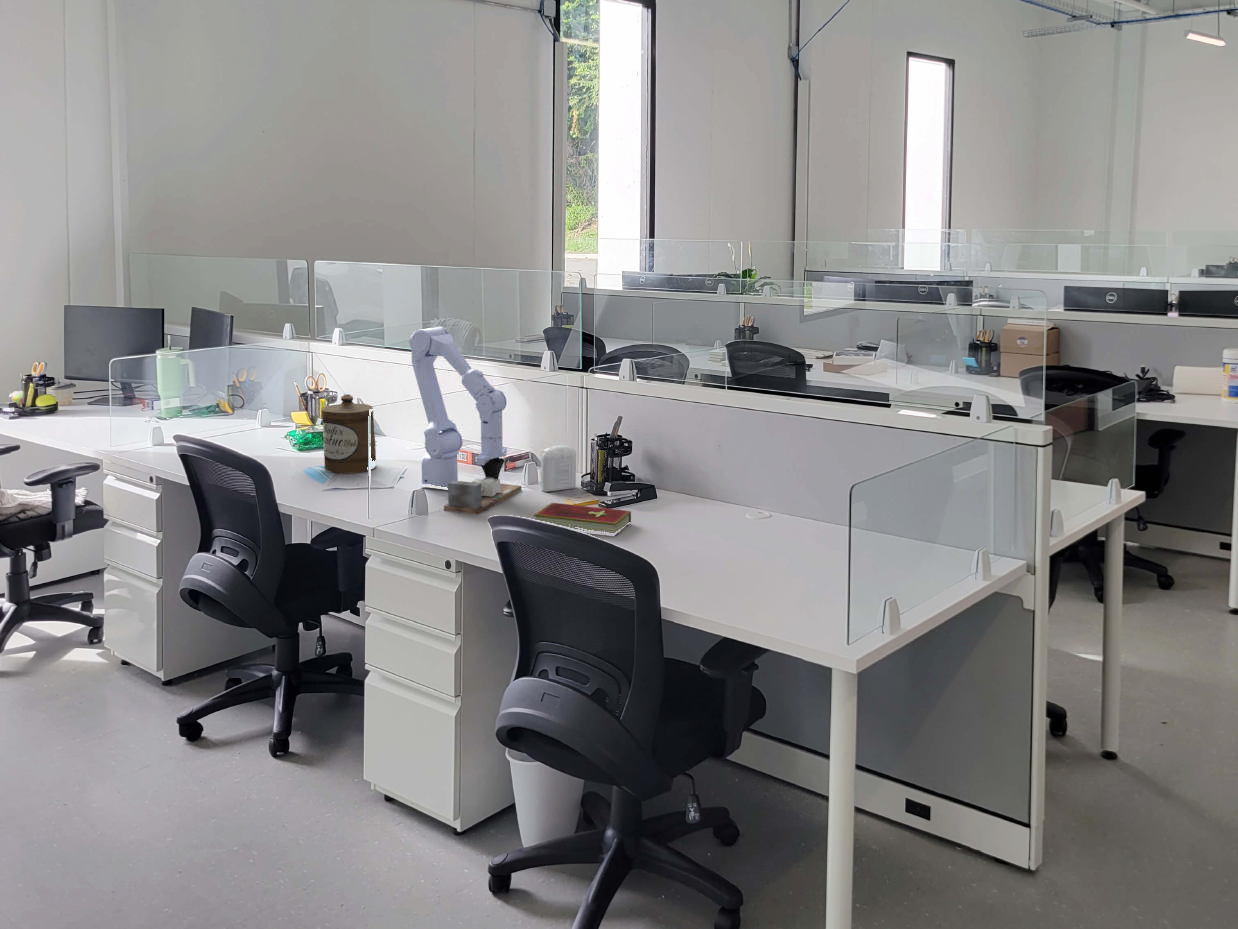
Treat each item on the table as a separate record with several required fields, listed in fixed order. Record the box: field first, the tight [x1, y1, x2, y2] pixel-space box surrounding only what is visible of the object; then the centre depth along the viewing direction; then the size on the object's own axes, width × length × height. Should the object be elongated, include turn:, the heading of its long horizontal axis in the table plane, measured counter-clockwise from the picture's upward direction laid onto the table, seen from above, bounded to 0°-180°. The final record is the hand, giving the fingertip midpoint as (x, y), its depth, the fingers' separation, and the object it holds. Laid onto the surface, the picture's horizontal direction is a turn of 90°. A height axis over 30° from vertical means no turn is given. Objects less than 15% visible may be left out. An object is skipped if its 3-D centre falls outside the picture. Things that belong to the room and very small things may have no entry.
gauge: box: [471, 476, 503, 497], centre depth 286 cm, size 8×8×4 cm
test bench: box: [443, 480, 522, 515], centre depth 287 cm, size 10×26×7 cm, turn 161°
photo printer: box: [540, 444, 577, 493], centre depth 298 cm, size 10×4×12 cm, turn 123°
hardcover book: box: [533, 502, 632, 533], centre depth 265 cm, size 12×21×4 cm, turn 71°
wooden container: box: [321, 393, 377, 474], centre depth 317 cm, size 15×15×22 cm
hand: (492, 485), depth 291 cm, fingers closed
